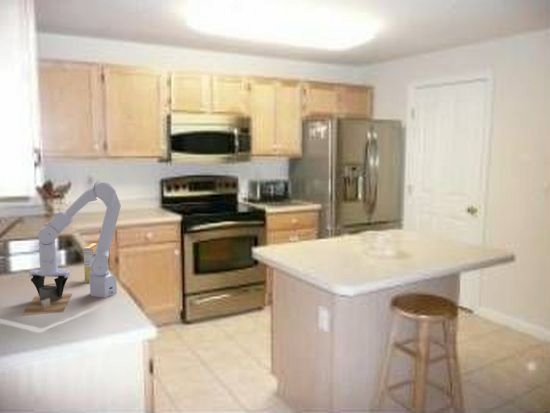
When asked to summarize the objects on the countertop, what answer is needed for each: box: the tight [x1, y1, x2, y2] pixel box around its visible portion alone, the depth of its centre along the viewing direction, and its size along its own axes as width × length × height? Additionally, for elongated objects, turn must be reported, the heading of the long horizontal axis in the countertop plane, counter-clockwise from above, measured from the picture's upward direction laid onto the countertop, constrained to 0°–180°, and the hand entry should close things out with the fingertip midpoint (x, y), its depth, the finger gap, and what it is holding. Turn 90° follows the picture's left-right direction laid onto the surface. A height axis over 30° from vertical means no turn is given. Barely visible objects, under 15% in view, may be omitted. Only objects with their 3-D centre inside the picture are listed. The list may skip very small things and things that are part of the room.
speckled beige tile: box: [41, 298, 50, 309], centre depth 163 cm, size 1×3×3 cm, turn 155°
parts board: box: [20, 292, 73, 316], centre depth 168 cm, size 21×13×1 cm, turn 15°
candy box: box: [83, 242, 98, 285], centre depth 199 cm, size 9×4×15 cm, turn 179°
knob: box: [39, 283, 62, 302], centre depth 172 cm, size 5×5×5 cm
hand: (50, 295), depth 172 cm, fingers closed on knob, 7 cm apart
